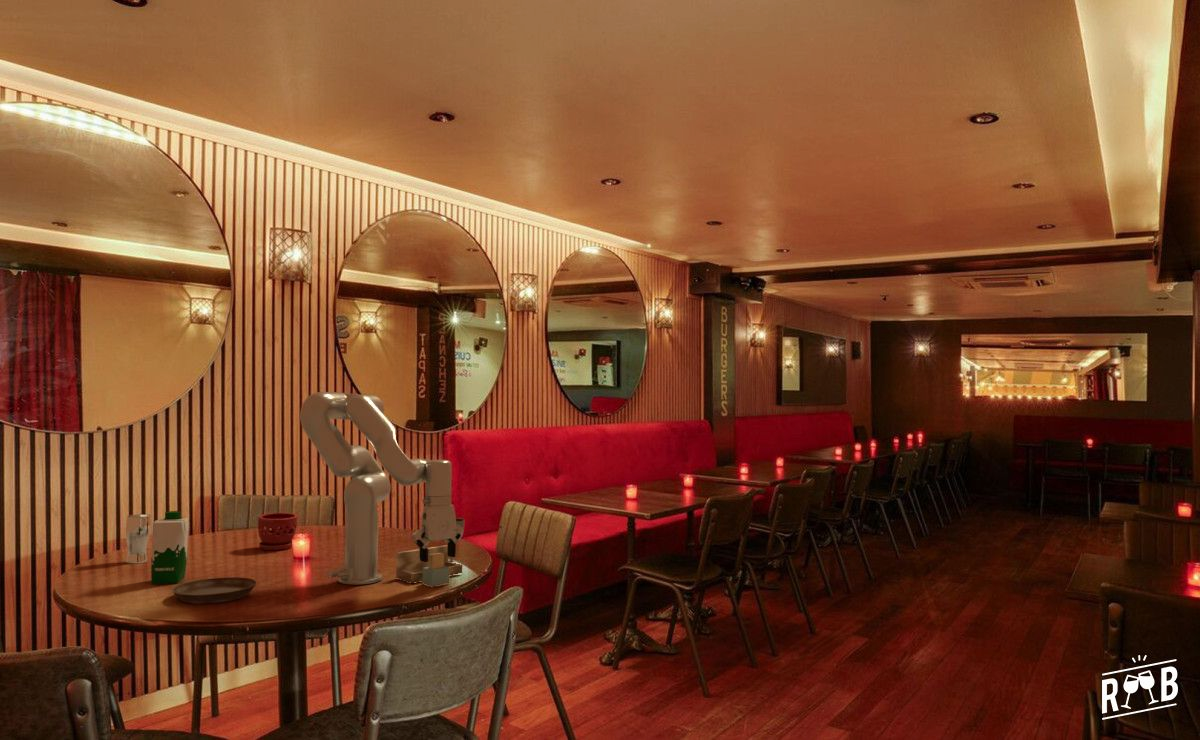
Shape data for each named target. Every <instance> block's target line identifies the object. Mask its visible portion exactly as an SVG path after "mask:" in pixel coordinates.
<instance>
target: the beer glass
mask: <svg viewBox="0 0 1200 740" xmlns="http://www.w3.org/2000/svg"><path fill="white" fill-rule="evenodd" d="M150 534H151V515H150V514H146V513H145V514H144V513H143V514H130V515H127V516H126V523H125V540H126V548H127V554H126V558H125V563H126V564H129V565H130V564H131V565H132V564H135V565H136V564H141V563H143V564H144V563H146V562H148V555H147V551H148V550H147V549H148V544H149V539H150V536H151V535H150Z"/></svg>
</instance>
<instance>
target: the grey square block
mask: <svg viewBox="0 0 1200 740" xmlns="http://www.w3.org/2000/svg"><path fill="white" fill-rule="evenodd" d="M422 583H424V584H427V585H430V586H435V585H440V584H444V583H449V584H450V577H449V567H446V566H444V554H443V553H435V554H429V567H424V568H423V580H422V582H421V584H422Z"/></svg>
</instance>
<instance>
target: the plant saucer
mask: <svg viewBox="0 0 1200 740" xmlns="http://www.w3.org/2000/svg"><path fill="white" fill-rule="evenodd" d="M257 583H258V582H257V580H256V579H253V578H249V577H242V576H241V577H240V576H239V577H236V576H235V577H234V576H231V577H230V576H228V577H226V576H225V577H213V578H207V579H198V580H194V581H193V580H192V581H188V582H184V583H181V584H178V585H176V586H175V587H173V588H171V589H172V590H171V591H172V594H174V595H175V597H177V599H179V600H180V601H182V602H184V603H187V604H188V603H189V604H196V605H197V604H199V605H200V604H201V605H202V604H203V605H206V604H217V603H226V602H230V601H235V600H238V599H241V598H243V597H245V596H247V595H248V594H249V593H250V592H251V591H252V590H253V589H254V588H255V586H256V585H257Z"/></svg>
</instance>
